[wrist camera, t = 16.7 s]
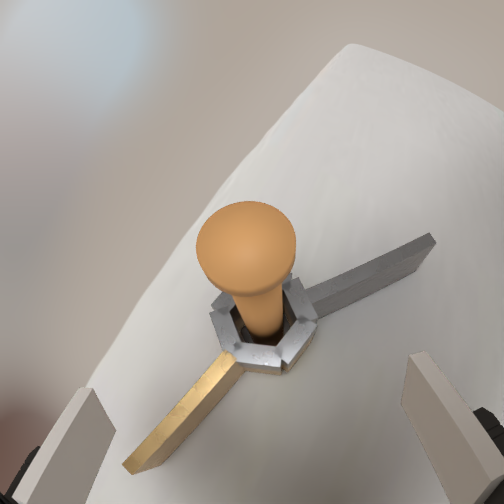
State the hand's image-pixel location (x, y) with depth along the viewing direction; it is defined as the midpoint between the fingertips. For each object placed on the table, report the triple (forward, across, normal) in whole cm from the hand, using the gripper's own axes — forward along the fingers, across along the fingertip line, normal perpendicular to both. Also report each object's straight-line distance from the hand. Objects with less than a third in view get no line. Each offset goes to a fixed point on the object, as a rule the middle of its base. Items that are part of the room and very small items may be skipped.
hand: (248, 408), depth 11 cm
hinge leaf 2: (+18, +7, -5) cm, 20 cm away
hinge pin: (+16, +1, -6) cm, 18 cm away
